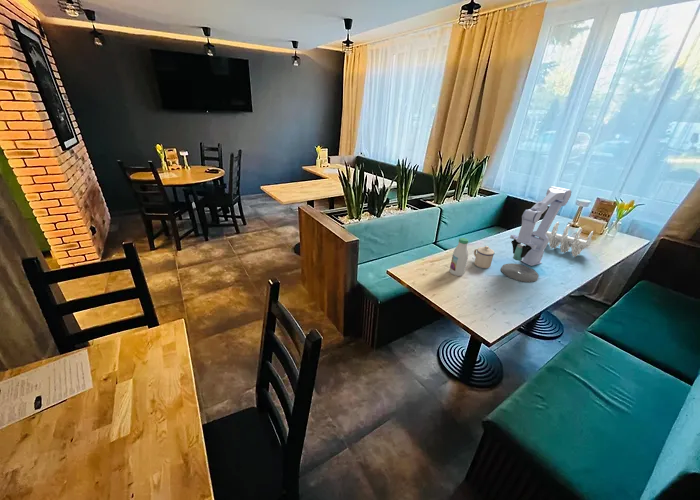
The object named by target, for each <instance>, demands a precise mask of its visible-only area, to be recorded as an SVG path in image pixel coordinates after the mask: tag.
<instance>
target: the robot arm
mask: <svg viewBox="0 0 700 500" xmlns="http://www.w3.org/2000/svg"><path fill="white" fill-rule="evenodd" d="M571 196H572V190H571V189H567V188H564V187H559V186H554V185H551V186H549V187H548V189H547V191H546V193H545V196H544V198H543V199H542V200H541V201H540V200H539V201H537V202H536V203H535V204H533V206H532V207H531V208H529V209H525V210H524V211H523V213H522V215H521V226H520V230H519V232H518V235H516V234H510V237H509V239H511V241H510V242H511V245H512V254H513V255H514V253H515V250H516V246H517V245H518V244H523V245H525V246H522V254H521V258H522V260H521V262H522V263H524V264H527V265H529V266H532V267H533V266H535V265H540V264H543V262H542V259H543V256H544V252H545V251H544V250H545V249H547V246H548V244H549V243H548V241H549V238H548V236H547V235H546V233H547V231H549V229H550V227H551V226H552V223H553V222H554V220H555V218H556V216H557V215H558V212H559V210H560V209H561V208H562V207H565V206H566V205H567V203H568V202H569V200H570V198H571ZM548 206H549V207H548ZM544 213H545V214H544ZM542 214H544V216H543V218H542V220H541V222H540V223H539V226H537V227H538V228H537V229H536V230H534V229H535V225H536V223H537V222H538V221H539V220H540V218H541V217H542ZM540 238H542V239H540ZM512 239H513V240H512ZM543 239H544V240H543Z"/></svg>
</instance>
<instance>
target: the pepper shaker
mask: <svg viewBox="0 0 700 500" xmlns="http://www.w3.org/2000/svg"><path fill="white" fill-rule="evenodd" d="M522 246H526V245H525V244H523V243H521V244H518V245H517V246H516V250H515V253H514V254H513V256H512V259H513V260H515V261H518V262H520V261H521V260H522V258H521V254H522ZM521 262H522V261H521Z"/></svg>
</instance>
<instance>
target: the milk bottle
mask: <svg viewBox="0 0 700 500" xmlns="http://www.w3.org/2000/svg"><path fill="white" fill-rule="evenodd" d="M468 244H469V239H468V238H466V237H459V238H458V245H457V246H456V247H455V248H454V250H453V253H452V255H451V262H450V266H449V270H448V271H449V273H450V274H451V275H453V276H456V277H461V276H464V275H465V271H466V268H467V262H468V258H469V249H468Z"/></svg>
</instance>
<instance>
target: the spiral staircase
mask: <svg viewBox="0 0 700 500" xmlns="http://www.w3.org/2000/svg"><path fill="white" fill-rule="evenodd" d="M559 225H560V221H557V222H555V224H554V225H553V227H552V230H551V231H549V230H548V231H547V233H546V235H547V236H548V238H549V241H548V244H549V247H550V249H552V250H555V249H556V248H557V247H559V246H560V248H559V249H560V252H561V253H564V254H565V253H566V252H567V253H569V250H570V248H571V254H572V255H571V256H572V257H574V258H577V256H578V255H579V256H580V254H581V253H582V251H584V250H585V249H589V248H590V246H591V243H592V237H593V235H594V230H592V231H591V232H589V234H588V236H587V239H586V240H585V239H580V234H581V233H582V229H583V228H582V227H580V228H578V230H577V232H575V235H574V237H571V236H569V229H570V227H571V226H570V225H571V224H570V223H569V224H567V225H566V227H565V228H564V229H563V233H562V234H559V233H557V232H558V231H559V230H558V229H559ZM540 239H542V238H540ZM543 240H544V239H543Z"/></svg>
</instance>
